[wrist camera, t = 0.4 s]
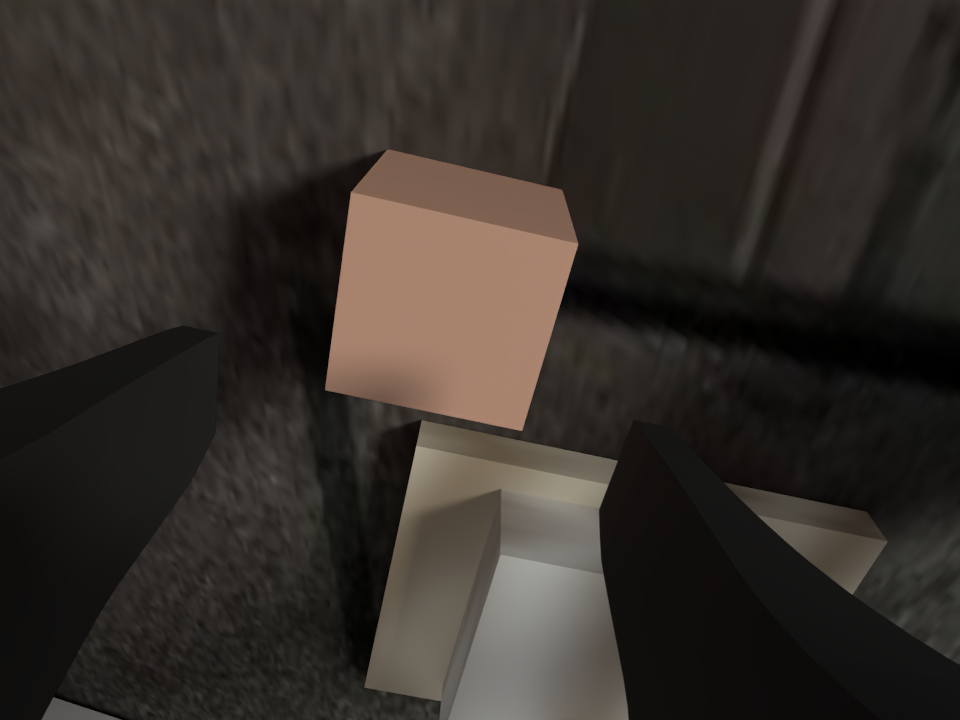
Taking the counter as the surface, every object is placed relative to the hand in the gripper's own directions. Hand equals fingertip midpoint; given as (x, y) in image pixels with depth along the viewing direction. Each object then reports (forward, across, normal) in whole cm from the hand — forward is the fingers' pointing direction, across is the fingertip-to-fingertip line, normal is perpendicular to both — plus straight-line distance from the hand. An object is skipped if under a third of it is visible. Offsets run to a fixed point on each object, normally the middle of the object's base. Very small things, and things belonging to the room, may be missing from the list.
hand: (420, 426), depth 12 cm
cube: (+10, 0, 0) cm, 10 cm away
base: (+9, -8, +12) cm, 17 cm away
